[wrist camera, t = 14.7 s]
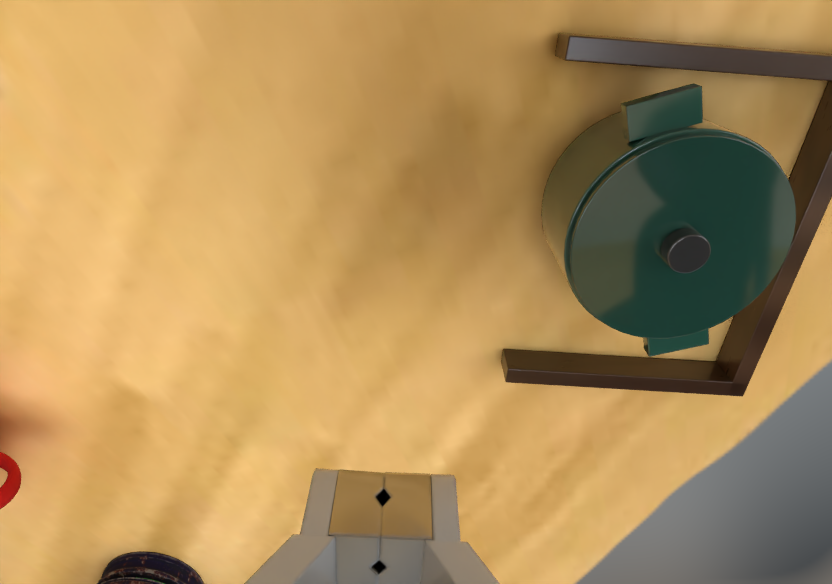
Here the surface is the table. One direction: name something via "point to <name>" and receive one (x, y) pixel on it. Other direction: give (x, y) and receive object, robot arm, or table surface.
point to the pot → (667, 220)
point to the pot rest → (751, 327)
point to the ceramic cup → (9, 479)
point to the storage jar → (148, 570)
